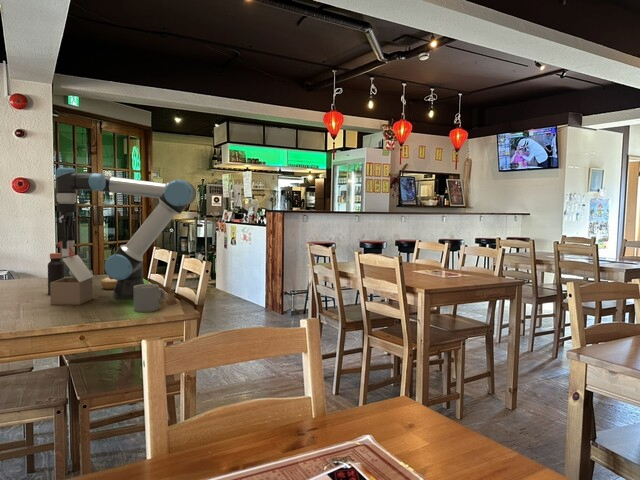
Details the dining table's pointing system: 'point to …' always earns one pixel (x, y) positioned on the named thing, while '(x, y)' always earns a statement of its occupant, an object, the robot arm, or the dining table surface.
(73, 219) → the robot arm
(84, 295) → the carton
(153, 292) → the coffee mug
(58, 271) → the bottle
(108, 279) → the pastry
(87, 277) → the lid
